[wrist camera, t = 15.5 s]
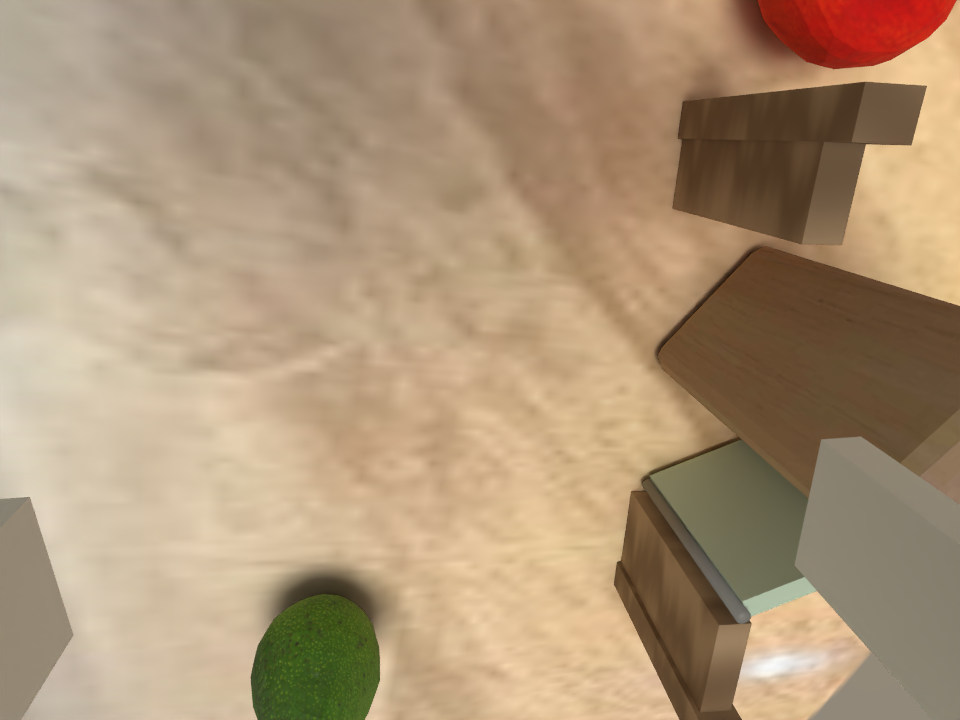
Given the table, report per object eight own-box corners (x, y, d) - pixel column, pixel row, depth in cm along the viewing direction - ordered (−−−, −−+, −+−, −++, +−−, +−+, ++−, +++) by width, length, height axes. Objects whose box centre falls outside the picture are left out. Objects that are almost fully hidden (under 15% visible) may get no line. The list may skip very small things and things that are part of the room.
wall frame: (683, 101, 36) (865, 81, 22) (722, 104, 36) (926, 86, 22) (614, 584, 47) (705, 773, 33) (644, 582, 48) (747, 770, 34)
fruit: (250, 637, 45) (201, 805, 34) (293, 551, 43) (257, 699, 32) (354, 668, 47) (341, 835, 36) (400, 587, 45) (401, 738, 34)
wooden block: (847, 332, 43) (1200, 489, 24) (740, 438, 44) (990, 660, 26) (757, 237, 39) (1083, 331, 21) (646, 354, 41) (853, 538, 23)
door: (889, 381, 44) (1079, 476, 32) (891, 395, 44) (1079, 495, 32) (640, 479, 44) (733, 611, 32) (644, 492, 44) (738, 628, 32)
